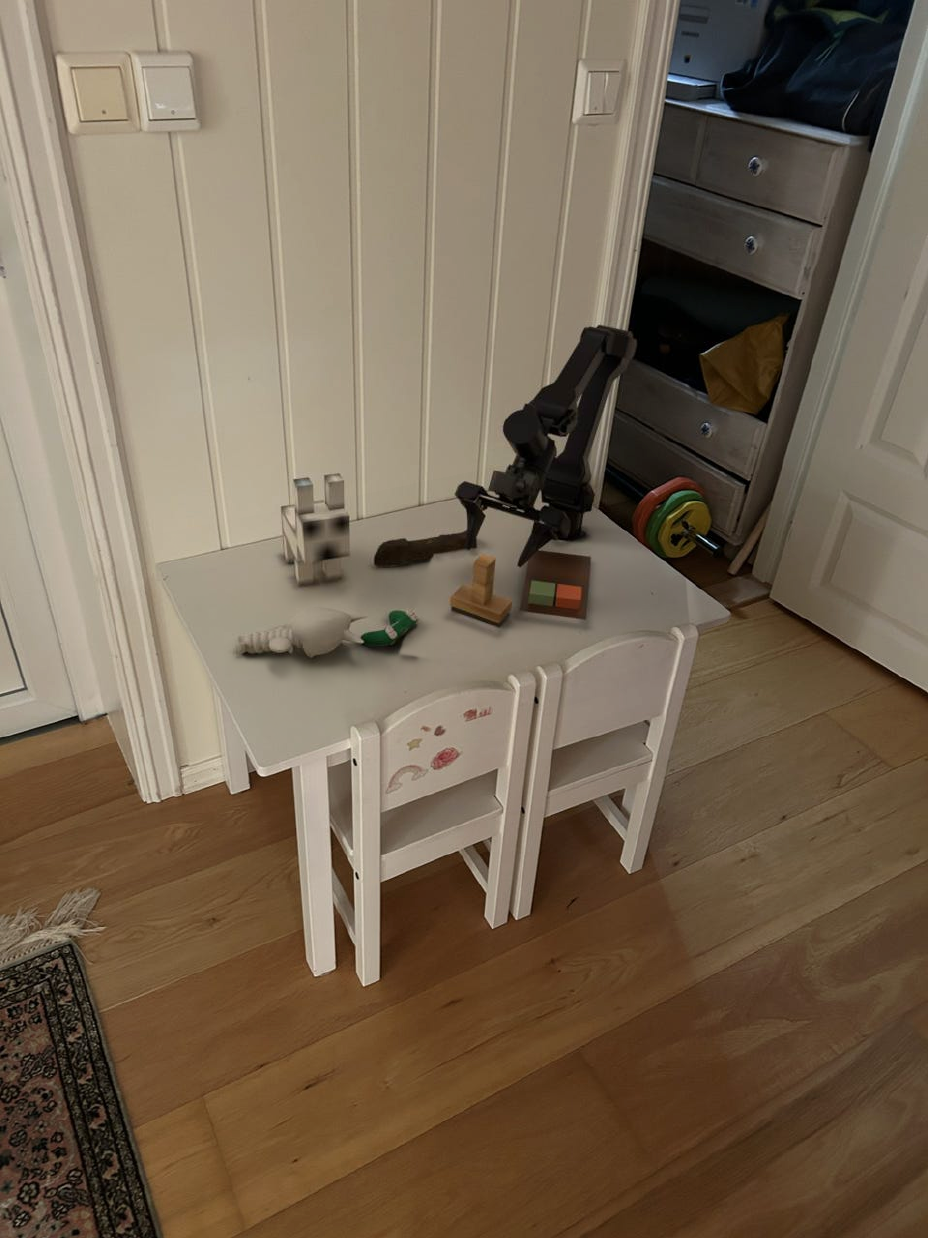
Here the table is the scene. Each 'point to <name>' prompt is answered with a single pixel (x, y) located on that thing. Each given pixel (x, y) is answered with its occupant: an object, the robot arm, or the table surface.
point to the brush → (481, 595)
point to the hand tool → (418, 548)
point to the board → (557, 581)
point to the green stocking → (391, 629)
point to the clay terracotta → (568, 596)
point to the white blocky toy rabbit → (316, 529)
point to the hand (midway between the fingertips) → (492, 557)
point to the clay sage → (542, 593)
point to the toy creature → (304, 633)
